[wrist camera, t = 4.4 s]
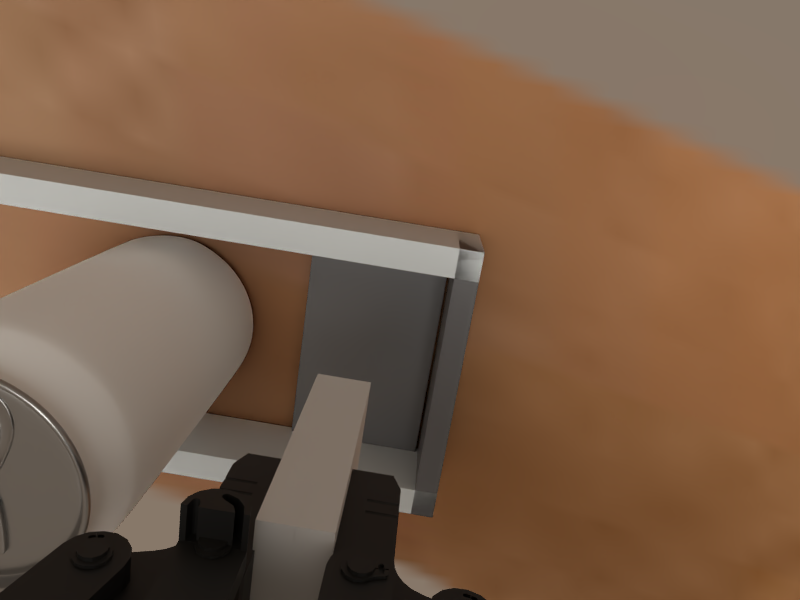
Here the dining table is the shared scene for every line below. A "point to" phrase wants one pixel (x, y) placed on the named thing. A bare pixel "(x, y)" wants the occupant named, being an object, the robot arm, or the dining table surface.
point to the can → (107, 385)
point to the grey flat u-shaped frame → (314, 311)
